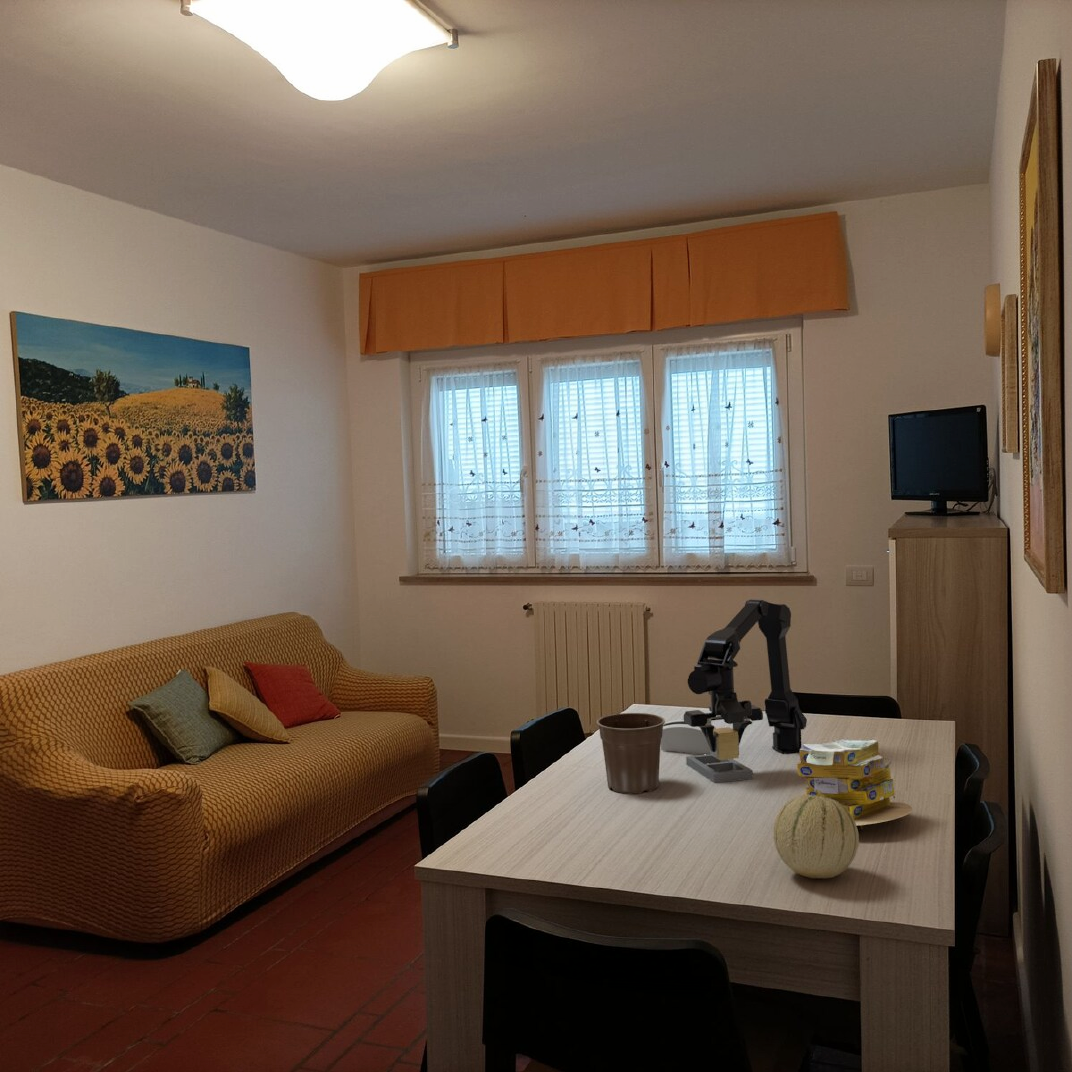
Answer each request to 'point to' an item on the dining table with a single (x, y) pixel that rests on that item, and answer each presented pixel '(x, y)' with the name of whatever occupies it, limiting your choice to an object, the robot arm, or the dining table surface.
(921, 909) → the dining table surface
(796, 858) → the cantaloupe
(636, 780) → the plant pot
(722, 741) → the metal-backed wooden cube
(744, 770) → the gray rectangular tray
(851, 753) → the stacked yellow boxes
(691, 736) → the grey arched block
